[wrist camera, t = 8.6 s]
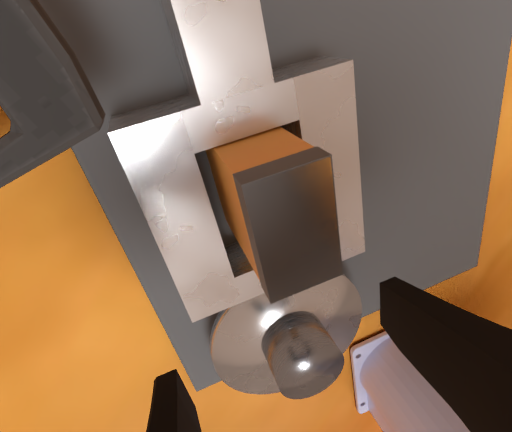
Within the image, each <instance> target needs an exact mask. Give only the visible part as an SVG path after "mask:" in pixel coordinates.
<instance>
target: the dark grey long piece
mask: <svg viewBox="0 0 512 432" xmlns="http://www.w3.org/2000/svg"><path fill="white" fill-rule="evenodd" d="M0 106H1V107H2V109H3V110H4V112H5V113H6V115H7V116H8V117H9V119H10V120H11V127H10V131H9V132H8V133H7V134H5V135H4V136H2V137H1V138H0V188H1V187H3V186H5V185H6V184H8V183H10V182H12V181H13V180H15V179H17V178H18V177H20V176H22V175H24V174H25V173H27V172H29V171H31V170H32V169H34V168H36V167H37V166H39V165H41V164H43V163H44V162H46V161H48V160H50V159H51V158H53V157H55V156H56V155H58V154H60V153H62V152H63V151H65V150H67V149H69V148H70V147H72V146H74V145H76V144H77V143H79V142H81V141H82V140H84V139H86V138H88V137H89V136H91V135H93V134H95V133H96V132H98V131H100V129H101V127H102V125H103V122H104V118H105V112H104V110H103V108H102V106H101V104H100V102H99V100H98V98H97V96H96V94H95V92H94V90H93V88H92V86H91V84H90V82H89V80H88V78H87V76H86V74H85V72H84V70H83V68H82V66H81V64H80V62H79V60H78V58H77V56H76V54H75V53H74V51H73V50H72V48H71V47H70V45H69V44H68V43H67V41H66V40H65V38H64V37H63V36H62V34H61V33H60V31H59V30H58V28H57V27H56V26H55V24H54V23H53V21H52V20H51V18H50V17H49V16H48V14H47V13H46V11H45V10H44V8H43V7H42V6H41V4H40V3H39V1H38V0H0Z"/></svg>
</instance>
